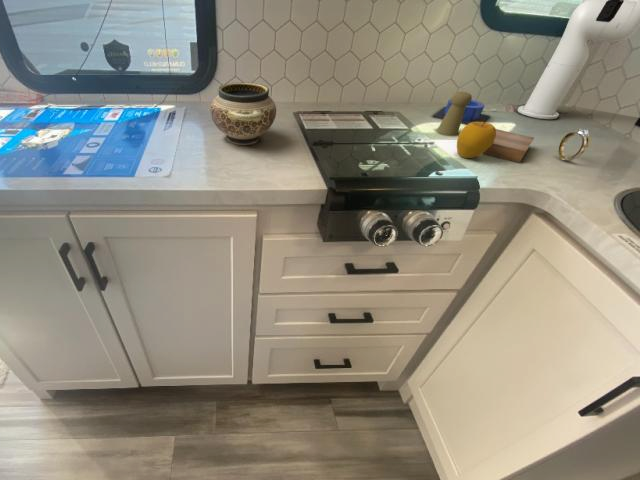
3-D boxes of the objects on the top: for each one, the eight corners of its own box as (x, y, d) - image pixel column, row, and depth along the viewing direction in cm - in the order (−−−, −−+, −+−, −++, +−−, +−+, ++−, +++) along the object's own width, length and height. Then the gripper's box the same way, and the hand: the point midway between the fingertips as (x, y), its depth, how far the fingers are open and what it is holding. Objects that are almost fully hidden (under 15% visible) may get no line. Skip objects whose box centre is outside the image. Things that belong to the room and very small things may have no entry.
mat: (445, 107, 128) (445, 106, 127) (489, 116, 121) (489, 115, 121) (432, 116, 119) (432, 115, 119) (478, 127, 113) (479, 126, 112)
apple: (471, 165, 90) (490, 130, 84) (443, 154, 95) (458, 120, 89) (490, 159, 94) (508, 124, 87) (461, 148, 99) (477, 115, 93)
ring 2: (577, 165, 92) (600, 134, 87) (565, 165, 92) (587, 133, 87) (560, 155, 97) (581, 124, 92) (549, 154, 97) (569, 124, 92)
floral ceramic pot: (220, 133, 109) (206, 80, 99) (275, 119, 107) (267, 63, 97) (219, 166, 92) (202, 106, 82) (284, 150, 90) (275, 86, 79)
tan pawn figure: (452, 137, 105) (470, 96, 98) (433, 131, 109) (449, 91, 101) (460, 132, 108) (478, 93, 101) (442, 127, 111) (458, 88, 104)
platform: (476, 136, 107) (481, 125, 105) (527, 148, 101) (534, 137, 98) (464, 148, 99) (469, 137, 97) (519, 162, 93) (526, 151, 91)
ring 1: (449, 108, 125) (454, 96, 123) (481, 115, 121) (487, 102, 118) (440, 115, 119) (445, 102, 116) (474, 123, 114) (480, 109, 112)
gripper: (683, -77, 74) (619, 24, 86) (680, -71, 84) (622, 19, 96) (639, -76, 78) (583, 21, 90) (640, -70, 87) (590, 17, 99)
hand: (604, 20), depth 93 cm, fingers open, 9 cm apart
